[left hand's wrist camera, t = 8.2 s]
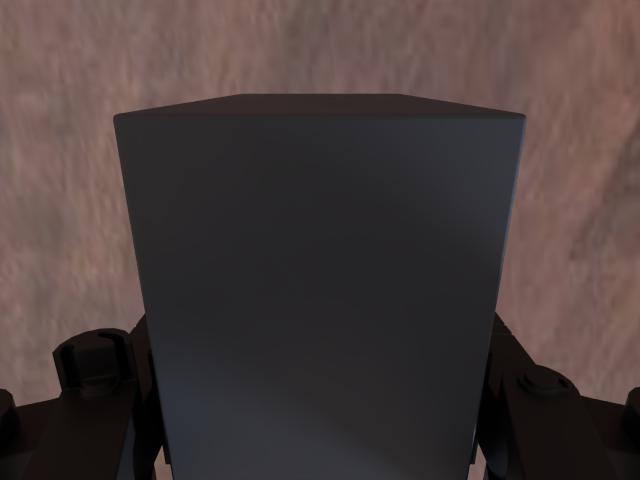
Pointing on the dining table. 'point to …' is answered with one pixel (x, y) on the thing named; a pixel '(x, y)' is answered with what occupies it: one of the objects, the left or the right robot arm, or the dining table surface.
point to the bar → (320, 279)
